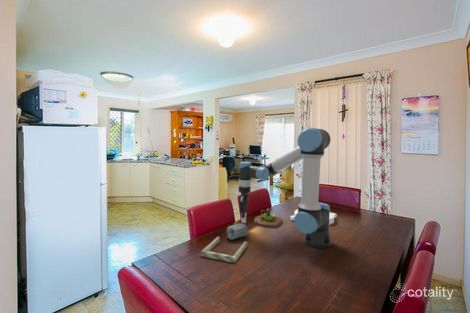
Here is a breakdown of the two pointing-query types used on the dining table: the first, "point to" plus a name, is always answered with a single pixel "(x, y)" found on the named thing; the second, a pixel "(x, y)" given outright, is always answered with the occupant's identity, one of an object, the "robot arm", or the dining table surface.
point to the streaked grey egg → (237, 231)
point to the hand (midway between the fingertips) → (243, 222)
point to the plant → (268, 220)
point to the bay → (219, 256)
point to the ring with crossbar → (331, 217)
